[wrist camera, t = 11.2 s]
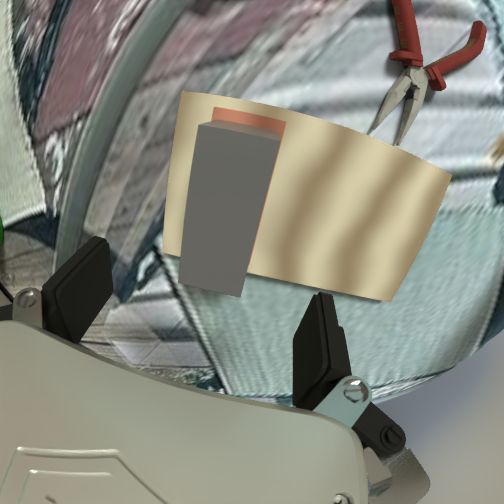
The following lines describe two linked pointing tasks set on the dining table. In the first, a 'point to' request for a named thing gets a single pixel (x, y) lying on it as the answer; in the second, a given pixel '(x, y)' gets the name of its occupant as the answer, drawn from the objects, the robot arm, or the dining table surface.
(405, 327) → the dining table surface
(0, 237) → the green cylindrical container
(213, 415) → the robot arm
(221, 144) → the block
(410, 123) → the pliers
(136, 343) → the dining table surface
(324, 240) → the board
